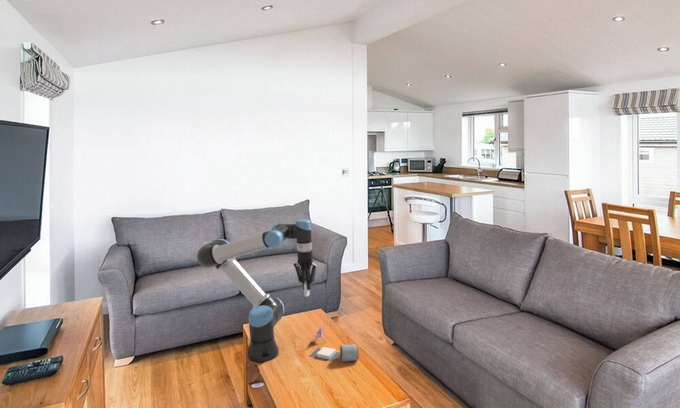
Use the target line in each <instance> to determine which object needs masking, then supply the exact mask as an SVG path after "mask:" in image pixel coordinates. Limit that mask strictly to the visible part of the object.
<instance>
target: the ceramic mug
mask: <svg viewBox="0 0 680 408" xmlns="http://www.w3.org/2000/svg"><path fill="white" fill-rule="evenodd" d="M339 352H340V356H339V357H340V360H341V362H342V363H346V362H354V361H358V360H359V357H360V356H359V355H360V353H359V347H358V345H357V344H340V347H339Z"/></svg>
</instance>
